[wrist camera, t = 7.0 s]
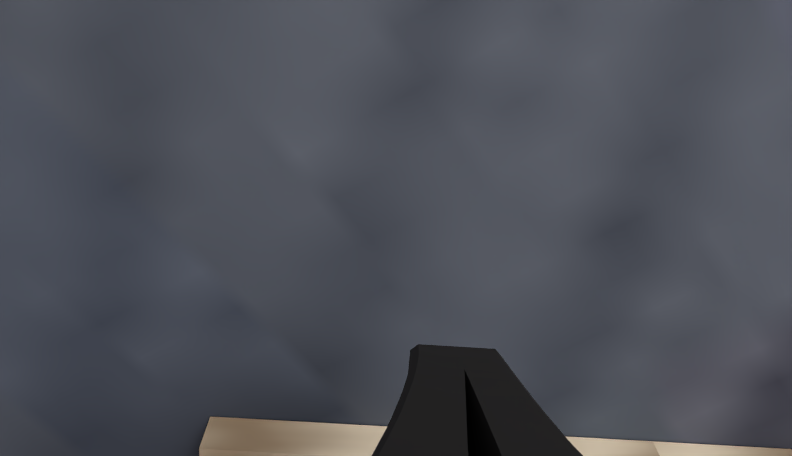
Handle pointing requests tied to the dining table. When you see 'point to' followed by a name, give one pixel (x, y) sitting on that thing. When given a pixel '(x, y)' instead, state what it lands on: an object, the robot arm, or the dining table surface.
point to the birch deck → (354, 444)
